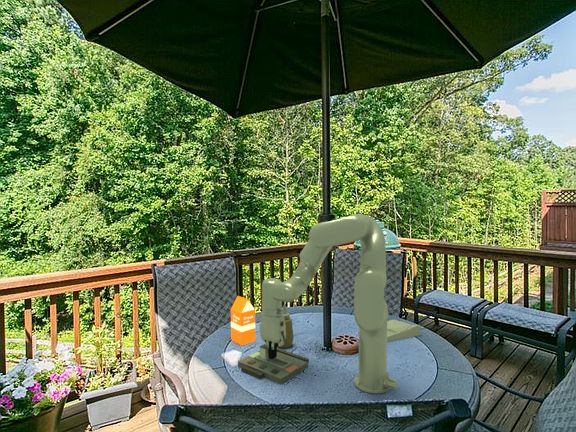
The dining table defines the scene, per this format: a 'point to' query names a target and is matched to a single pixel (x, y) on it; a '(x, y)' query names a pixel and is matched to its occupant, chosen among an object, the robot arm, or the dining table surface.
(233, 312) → the orange juice
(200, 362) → the dining table surface
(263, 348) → the breaker lever
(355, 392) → the dining table surface
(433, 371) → the dining table surface
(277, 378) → the breaker panel
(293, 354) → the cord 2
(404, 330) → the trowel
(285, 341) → the squeeze bottle
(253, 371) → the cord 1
